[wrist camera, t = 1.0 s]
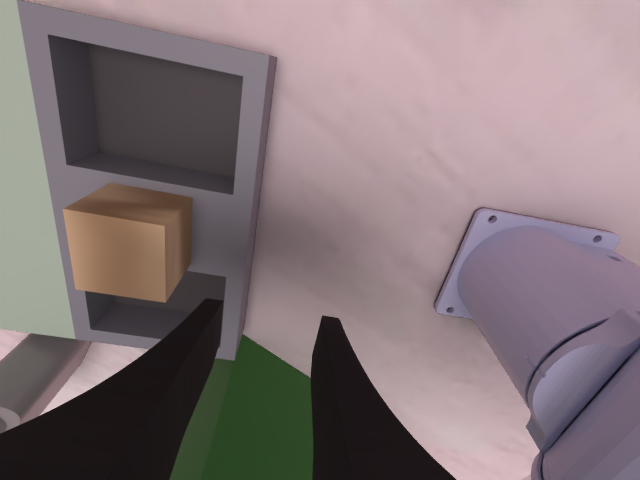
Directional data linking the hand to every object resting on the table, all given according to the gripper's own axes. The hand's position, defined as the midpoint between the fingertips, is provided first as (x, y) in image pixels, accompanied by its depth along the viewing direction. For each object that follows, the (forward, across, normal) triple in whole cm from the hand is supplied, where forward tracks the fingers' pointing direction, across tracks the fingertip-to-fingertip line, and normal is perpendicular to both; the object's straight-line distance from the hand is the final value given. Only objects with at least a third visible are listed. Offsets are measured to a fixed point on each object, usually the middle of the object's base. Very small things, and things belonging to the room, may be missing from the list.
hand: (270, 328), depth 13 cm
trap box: (+9, +10, 0) cm, 14 cm away
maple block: (+6, +7, 0) cm, 9 cm away
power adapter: (+10, +15, +12) cm, 22 cm away
